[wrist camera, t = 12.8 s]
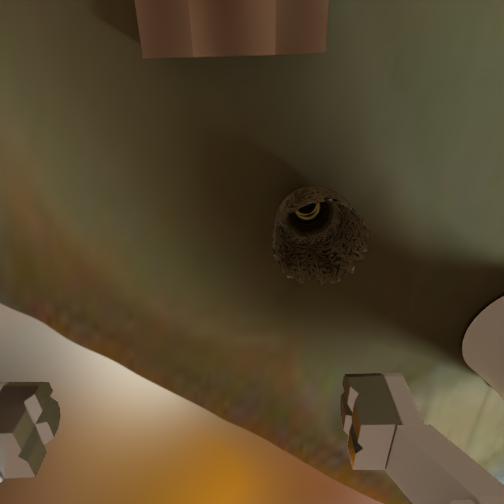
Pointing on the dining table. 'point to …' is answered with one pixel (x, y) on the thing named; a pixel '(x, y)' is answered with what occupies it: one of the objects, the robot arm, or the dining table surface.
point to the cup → (318, 236)
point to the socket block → (231, 27)
